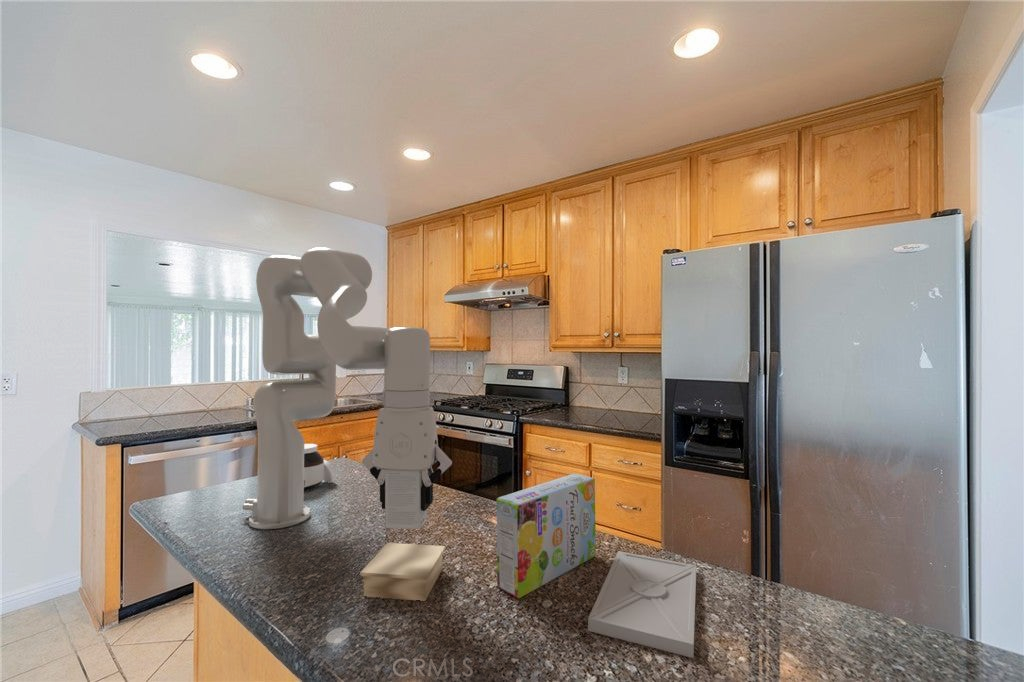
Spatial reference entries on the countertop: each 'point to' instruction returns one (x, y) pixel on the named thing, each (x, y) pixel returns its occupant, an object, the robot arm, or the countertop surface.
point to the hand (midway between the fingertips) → (406, 506)
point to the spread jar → (316, 468)
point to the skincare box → (403, 500)
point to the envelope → (648, 603)
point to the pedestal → (403, 571)
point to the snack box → (544, 532)
